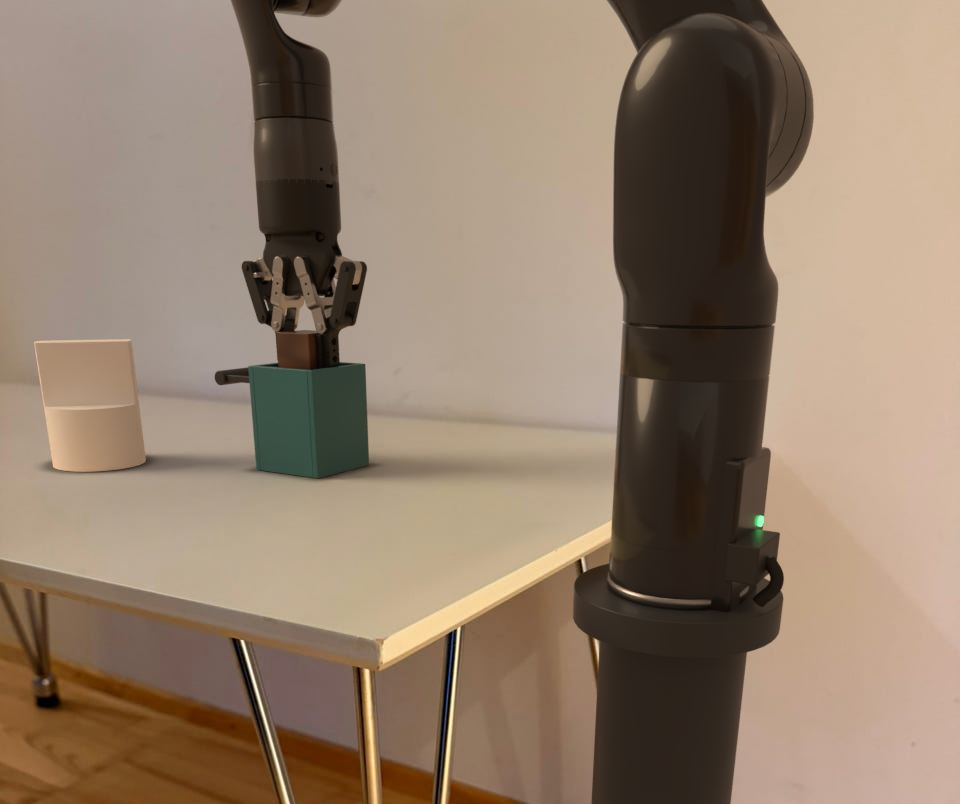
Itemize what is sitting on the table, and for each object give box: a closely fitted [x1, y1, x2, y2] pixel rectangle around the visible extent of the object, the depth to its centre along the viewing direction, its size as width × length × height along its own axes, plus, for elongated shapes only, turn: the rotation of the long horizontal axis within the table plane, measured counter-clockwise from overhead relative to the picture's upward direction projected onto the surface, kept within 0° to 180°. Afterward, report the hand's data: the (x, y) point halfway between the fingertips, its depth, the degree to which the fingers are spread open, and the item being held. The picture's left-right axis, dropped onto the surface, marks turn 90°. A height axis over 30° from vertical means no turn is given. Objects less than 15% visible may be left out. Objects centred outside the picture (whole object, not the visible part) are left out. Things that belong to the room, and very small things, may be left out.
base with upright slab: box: [33, 338, 147, 473], centre depth 99 cm, size 9×9×12 cm
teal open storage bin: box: [214, 361, 370, 479], centre depth 98 cm, size 10×8×14 cm
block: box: [275, 329, 319, 370], centre depth 95 cm, size 4×4×4 cm
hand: (309, 371), depth 95 cm, fingers closed on block, 4 cm apart
